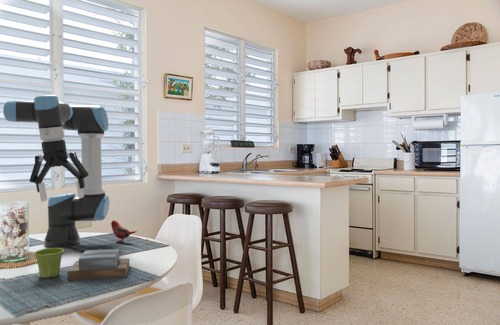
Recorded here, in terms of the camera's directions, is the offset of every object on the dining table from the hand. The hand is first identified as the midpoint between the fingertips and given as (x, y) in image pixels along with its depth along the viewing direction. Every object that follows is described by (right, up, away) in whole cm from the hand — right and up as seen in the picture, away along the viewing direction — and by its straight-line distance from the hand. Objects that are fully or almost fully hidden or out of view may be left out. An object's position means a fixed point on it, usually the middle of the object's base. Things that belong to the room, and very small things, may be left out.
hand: (62, 199), depth 145 cm
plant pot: (-4, -27, -1) cm, 27 cm away
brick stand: (+13, -27, +2) cm, 30 cm away
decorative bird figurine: (+6, -25, +49) cm, 55 cm away
